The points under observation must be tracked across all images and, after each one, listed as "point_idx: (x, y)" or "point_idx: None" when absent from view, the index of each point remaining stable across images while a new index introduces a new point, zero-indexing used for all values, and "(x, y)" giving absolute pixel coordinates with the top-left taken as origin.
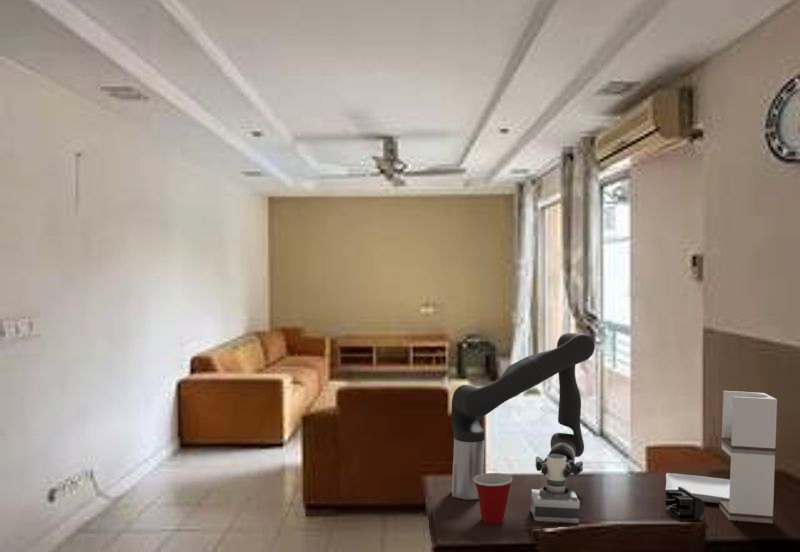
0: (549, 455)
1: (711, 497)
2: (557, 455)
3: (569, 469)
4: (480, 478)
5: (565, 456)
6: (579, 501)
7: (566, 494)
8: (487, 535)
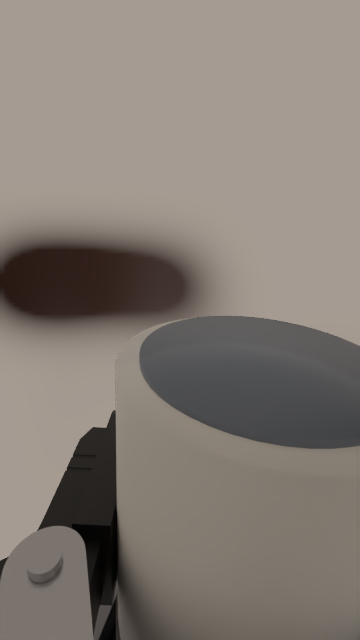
0: (355, 350)
1: None
2: (256, 366)
3: (71, 486)
4: None
5: (120, 375)
6: None
7: None
8: None
